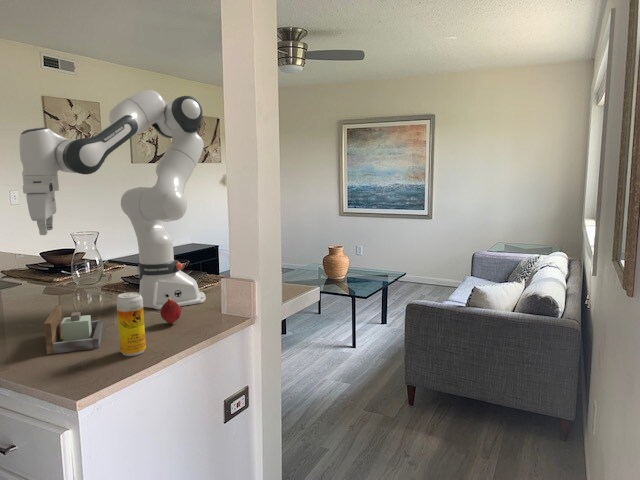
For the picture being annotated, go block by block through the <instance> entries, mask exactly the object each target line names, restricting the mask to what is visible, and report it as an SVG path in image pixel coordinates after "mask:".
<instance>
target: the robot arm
mask: <svg viewBox="0 0 640 480" xmlns="http://www.w3.org/2000/svg"><path fill="white" fill-rule="evenodd" d="M108 118H109V123H110V124H109V125H108V126H107V127H105V128H104V129H102V130H101V131H99V132H98V133H96V134H94V135H93V136H91V137H86V138H77V139H69V138H67V137H64V136H62V135H61V134H58V133H56V132H54V131H52V130H51V129H50V128H49V127H36V128H29V129H25V130H23V131H22V132H21V133H20V136H19V157H20V162H21V164H22V173H21V176H22V183H23V185H22V192H23V194H24V195H25V194H26V195H25V196H26V197H25V198H26V202H27V208H28V213H29V217H30V219H31V221H32V222H36V225H37V228H38V231H39V232H38V233H39V235H40V236H46V235H48V231H52V230H53V228H54V227H53V223H54V222H53V221H54V214H56V213H57V204H56V203H57V202H56V195H55V192H58V191H60V185H59V175H58V172H59V171H60V172H63V173H70V174H71V173H74V174H79V175H80V174H81V175H91V174H94V173H96V172H97V171H98V170H99V169H101V167H102V166H103V164H104V162H105V160H106V159H107V157H108V156H109V155H110V154H111V153H113V152H114V151H115V150H116V149H118V148H119V147H120V146H122V145H123V144H124V143H126V142H127V141H128V140H129V139H131V138H133V137H134V136H135V137H136V136H137V135H139V134H140V133H142V132H144V131H145V130H147V129H148V128H150V127H153V128H154V129H155V131H156V133H158V134H159V135H160V136H162V137H164V138H166V139H171V142H170V145H169V146H168V147H167V149H166V150H165V151H164V153H163V155H162V157H161V159H160V160H159V161H158V164H156V167H155V174H156V175H157V180H156V183H155V184H154V185H153V186H151V187H149V186H147V187H145V186H144V187H143V186H140V187H135V188H131V189H128V190H126V191H125V192H124V193H123V195H122V196H121V199H120V206H121V210H122V212H123V213H124V214H125V215H126V216H127V217H128V219H129V220H130V223H131V225H132V227H133V230H134V232H135V236H136V241H137V245H138V246H137V247H138V256H139V258H138V259H139V262H138V265H137V268H138V270H137V272H138V277H139V292H138V293H140V294H141V296H142V298H143V308H150V309H155V310H161V308H162V306H163V305H164V304H165V303H166V302H167V301H168V298H171V299H172V300H173V301H175V302H176V303H177V304H178V305H179V306H180V307H182V306H189V305H197V304H202V303H204V302H206V298H207V297H206V294H205V293H204V291H201V290H200V289H199V285H198V283H197V281H196V280H195V278H193V277H192V276H190V275H189V274H187V273H185V272H184V271H182V268H183V264H182V263H181V261H179V260H176V259H174V258H175V256H174V242H173V241H174V240H173V237H172V235H171V234H170V233H169V232H168V231H167V230H166V227H165V225H164V223H169V222H173V221H178V220H181V218H183V217H184V215H185V214H186V212H187V207H188V203H187V199H186V197H185V195H184V194H185V193H184V192H185V188H186V185H187V183H188V181H189V179H190V177H191V176H192V174H193V172H194V170H195V168H196V167H197V165H198V163H199V160H200V158H201V156H202V153H203V150H204V147H205V146H204V145H205V144H204V141H203V138H202V137H201V136H200V135H199V134H198V132H199V131H200V130H201V128H202V119H203V108H202V105H201V103H200V102H199V100H198V99H197V98H196V97H194V96H191V95H181V96H178V97H176V98H174V100H172V101H170V102H167V101H166V100H164V97H162V96H161V94H160V93H159V92H158V91H156V90H152V89H146V90H143V91H139V92H137V93H135V94H133V95H131V96H129V97H127V98H125V99H124V100H122V101H120V102H118V103H117V104H116V105H114V106H113V108H111V110H110V111H109V117H108Z"/></svg>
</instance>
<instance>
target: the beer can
mask: <svg viewBox="0 0 640 480" xmlns="http://www.w3.org/2000/svg"><path fill="white" fill-rule="evenodd" d="M116 313H117V326H118V327H117V328H118V339H119V352H120V353H122V355H123V356H125V357H135V356H139V355H141V354H143V353H144V351H145V350H146V348H147V344H146V343H147V342H146V332H145V327H146V326H145V314H144V307H143V298H142V296H141V294H140V293H139V292H136V291H131V292H128V291H127V292H124V293H119V294H118V295H117V299H116Z"/></svg>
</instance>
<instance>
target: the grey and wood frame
mask: <svg viewBox="0 0 640 480" xmlns="http://www.w3.org/2000/svg"><path fill="white" fill-rule="evenodd" d="M63 319H64V315H63V305H61V304H60V305H59V304H58V305H55V306H54V308H52V311H51V312H50V314H49V315H48V316H47V318H46V320H45V322H43V327H44V337H45V338H44V339H45V347H46V354H47V355H52V354H58V353H59V354H61V353H69V352H76V351H77V352H78V351H83V350H85V351H86V350H92V349H94V350H95V349H100V347H101V343H102V339H103V335H104V332H105V319H98V320H97V319H96V320H91V328H92V331H94V333H93V334H92V338H90V339H81V340H72V341H63V340H62V329H61V323H62V321H63ZM61 340H62V341H61Z"/></svg>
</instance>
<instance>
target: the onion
mask: <svg viewBox="0 0 640 480" xmlns="http://www.w3.org/2000/svg"><path fill="white" fill-rule="evenodd" d="M181 315H182V308H181V306H179V305H178V304H177V303H176V302H175V301H173V300H172V299H171V298H168V301H167V302H166V303H165V304H164V305H163V306H162V308H161V309H160V317H161V318H162V320H163V321H165V322H166V323H168V324H169V325H172V324H175V323H176V322H177V321H178V320H179V319H180V317H181Z"/></svg>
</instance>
